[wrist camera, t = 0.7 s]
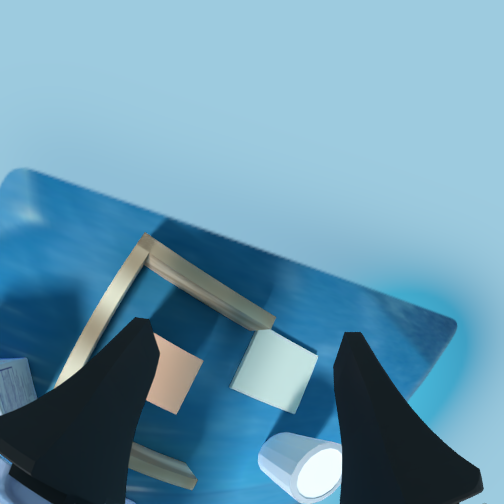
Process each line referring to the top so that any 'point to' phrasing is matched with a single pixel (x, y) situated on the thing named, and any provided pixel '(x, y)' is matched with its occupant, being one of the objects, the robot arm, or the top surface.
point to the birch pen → (191, 283)
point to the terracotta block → (172, 376)
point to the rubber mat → (274, 370)
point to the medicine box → (15, 384)
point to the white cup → (302, 465)
